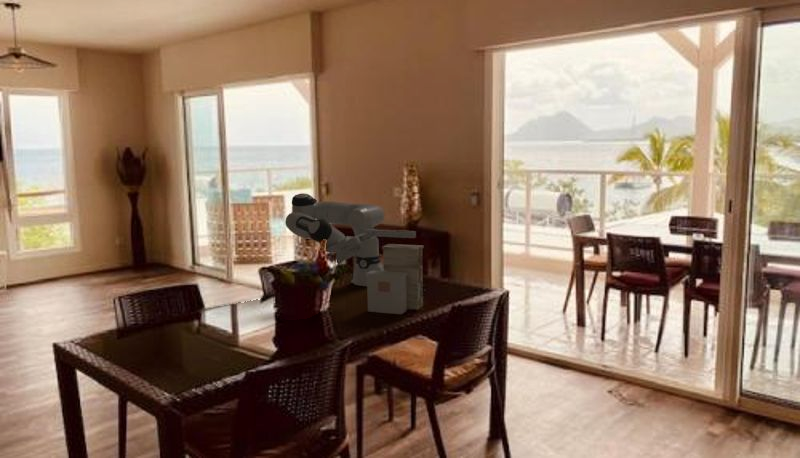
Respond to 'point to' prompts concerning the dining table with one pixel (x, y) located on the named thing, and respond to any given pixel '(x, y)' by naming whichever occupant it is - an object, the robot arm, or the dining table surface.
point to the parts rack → (386, 292)
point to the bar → (392, 233)
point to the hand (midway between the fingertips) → (374, 231)
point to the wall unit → (407, 269)
